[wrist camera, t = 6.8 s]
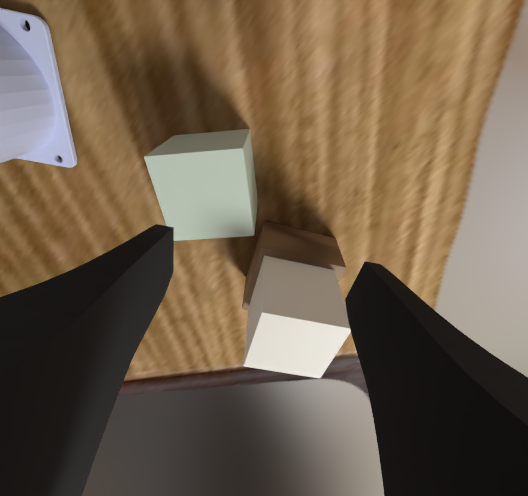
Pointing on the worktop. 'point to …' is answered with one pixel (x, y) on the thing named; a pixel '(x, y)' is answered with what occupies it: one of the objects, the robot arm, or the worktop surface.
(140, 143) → the worktop surface
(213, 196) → the sage cube
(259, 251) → the walnut block
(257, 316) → the cream cube
